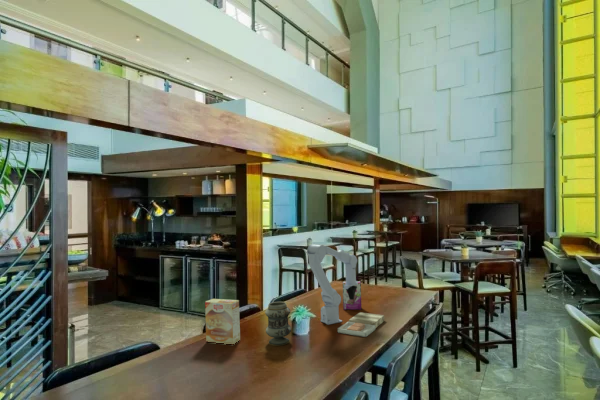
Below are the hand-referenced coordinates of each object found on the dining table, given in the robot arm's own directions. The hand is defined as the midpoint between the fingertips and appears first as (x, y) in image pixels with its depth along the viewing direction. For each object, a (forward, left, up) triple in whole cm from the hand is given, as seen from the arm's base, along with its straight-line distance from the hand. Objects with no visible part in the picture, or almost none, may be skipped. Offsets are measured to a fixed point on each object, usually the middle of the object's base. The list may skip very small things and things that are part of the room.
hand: (351, 299), depth 211 cm
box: (-14, -22, -9) cm, 28 cm away
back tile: (-12, -21, -9) cm, 26 cm away
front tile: (-17, -24, -7) cm, 30 cm away
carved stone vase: (-53, -14, -10) cm, 56 cm away
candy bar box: (+9, +12, -10) cm, 18 cm away
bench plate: (-2, -15, -9) cm, 18 cm away
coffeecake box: (-75, +2, -10) cm, 76 cm away
